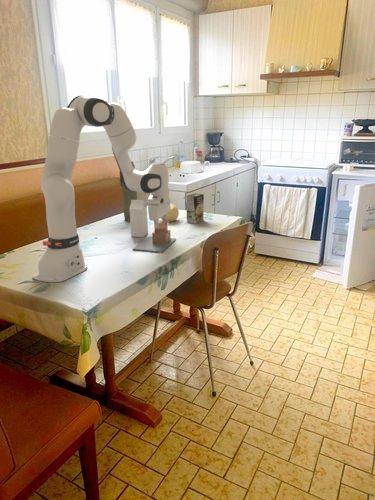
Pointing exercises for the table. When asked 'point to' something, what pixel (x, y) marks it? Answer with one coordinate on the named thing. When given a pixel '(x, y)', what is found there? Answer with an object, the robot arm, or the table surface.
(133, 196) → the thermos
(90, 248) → the table surface
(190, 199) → the coffee box
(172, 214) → the sculpture
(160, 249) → the building board
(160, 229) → the top block
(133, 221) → the milk carton
